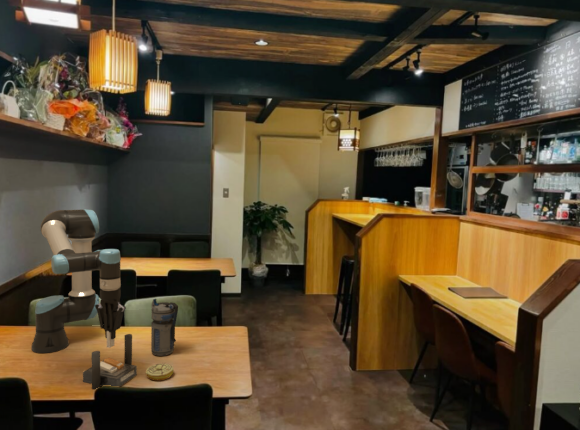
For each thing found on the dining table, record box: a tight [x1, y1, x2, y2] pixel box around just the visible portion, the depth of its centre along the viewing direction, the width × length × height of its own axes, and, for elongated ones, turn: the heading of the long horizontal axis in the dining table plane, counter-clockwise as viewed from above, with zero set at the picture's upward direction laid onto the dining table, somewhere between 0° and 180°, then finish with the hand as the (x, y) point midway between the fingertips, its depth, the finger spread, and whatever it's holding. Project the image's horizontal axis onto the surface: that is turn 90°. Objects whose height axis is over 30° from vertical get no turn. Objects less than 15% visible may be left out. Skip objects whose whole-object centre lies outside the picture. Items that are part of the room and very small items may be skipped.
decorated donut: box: [145, 363, 174, 381], centre depth 172 cm, size 10×11×4 cm
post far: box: [123, 333, 133, 365], centre depth 179 cm, size 3×3×14 cm
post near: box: [91, 350, 101, 390], centre depth 160 cm, size 3×3×14 cm
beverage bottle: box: [150, 298, 179, 357], centre depth 194 cm, size 10×13×25 cm
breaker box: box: [82, 359, 138, 387], centre depth 168 cm, size 16×12×5 cm
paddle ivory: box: [100, 361, 117, 373], centre depth 166 cm, size 8×3×1 cm, turn 74°
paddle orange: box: [103, 357, 124, 369], centre depth 170 cm, size 8×3×1 cm, turn 74°
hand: (110, 346), depth 167 cm, fingers closed
